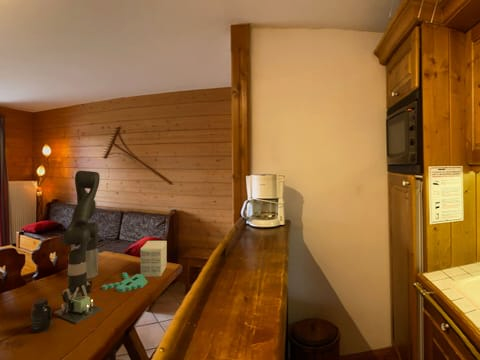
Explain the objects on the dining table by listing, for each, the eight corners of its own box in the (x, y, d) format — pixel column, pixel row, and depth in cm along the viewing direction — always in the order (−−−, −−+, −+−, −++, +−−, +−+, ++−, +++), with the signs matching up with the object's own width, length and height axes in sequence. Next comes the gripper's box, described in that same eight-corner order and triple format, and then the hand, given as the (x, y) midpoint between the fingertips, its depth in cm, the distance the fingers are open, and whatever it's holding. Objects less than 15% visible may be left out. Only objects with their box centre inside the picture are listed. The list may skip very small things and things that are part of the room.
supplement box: (147, 266, 184) (147, 240, 183) (166, 266, 185) (167, 240, 184) (139, 276, 167) (139, 248, 166) (161, 276, 168) (161, 248, 167)
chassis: (53, 314, 123) (53, 303, 123) (78, 302, 134) (78, 292, 134) (76, 323, 117) (76, 312, 117) (100, 310, 128) (100, 300, 127)
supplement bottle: (38, 323, 116) (37, 297, 116) (54, 323, 117) (54, 296, 116) (27, 333, 110) (26, 305, 109) (44, 333, 110) (44, 304, 109)
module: (65, 309, 124) (65, 298, 124) (75, 303, 129) (74, 293, 129) (80, 312, 122) (80, 301, 122) (89, 307, 127) (89, 296, 126)
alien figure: (101, 290, 149) (134, 294, 145) (101, 286, 149) (134, 290, 145) (123, 275, 169) (152, 279, 165) (123, 272, 169) (152, 275, 165)
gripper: (86, 265, 133) (86, 298, 134) (56, 275, 120) (56, 312, 121) (96, 267, 130) (97, 301, 131) (67, 278, 116) (67, 316, 117)
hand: (77, 306), depth 126 cm, fingers closed on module, 5 cm apart
